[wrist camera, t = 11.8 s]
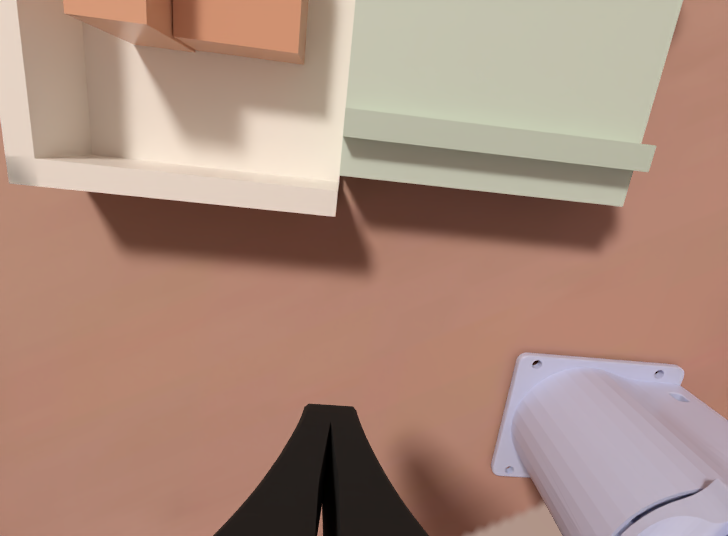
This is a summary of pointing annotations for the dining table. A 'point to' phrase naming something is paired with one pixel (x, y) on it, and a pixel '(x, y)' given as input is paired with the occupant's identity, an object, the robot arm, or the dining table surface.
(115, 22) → the tile
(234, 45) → the tile
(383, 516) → the robot arm
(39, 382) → the dining table surface
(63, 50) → the box
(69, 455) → the dining table surface
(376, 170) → the two-ridged green plate
